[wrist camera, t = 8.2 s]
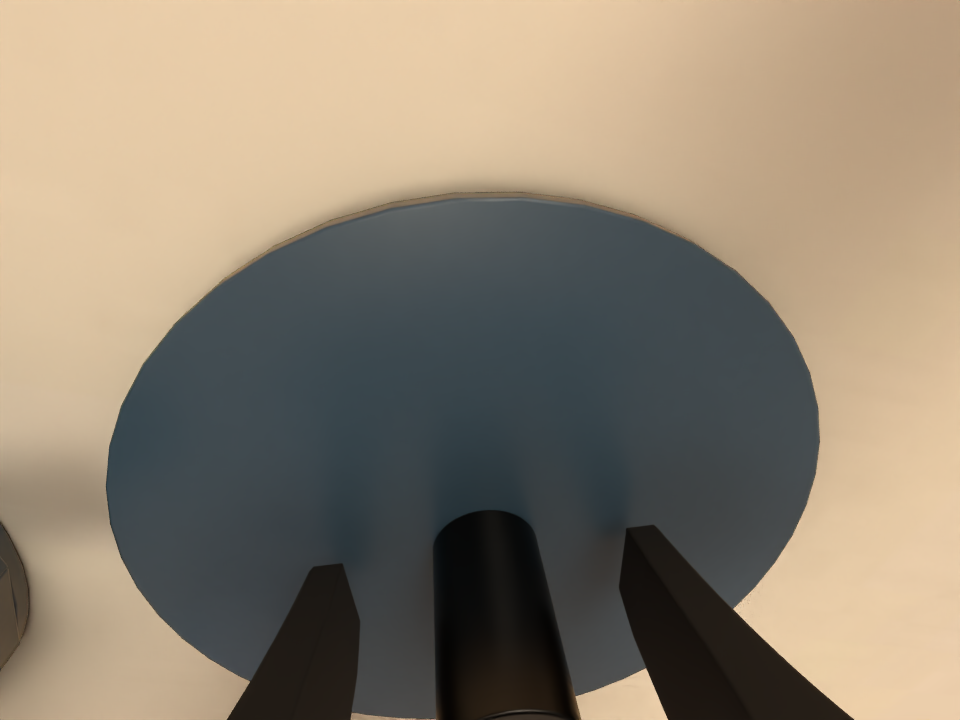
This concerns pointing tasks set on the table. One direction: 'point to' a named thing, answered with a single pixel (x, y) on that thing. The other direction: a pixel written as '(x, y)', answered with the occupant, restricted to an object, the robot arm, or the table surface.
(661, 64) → the table surface
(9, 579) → the pot
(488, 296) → the pot lid
